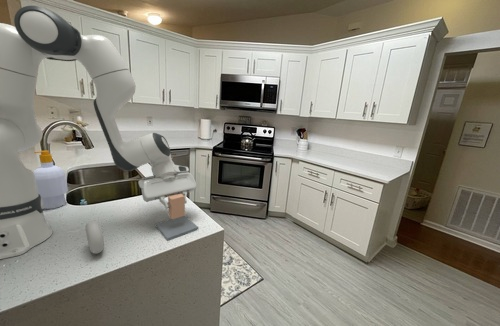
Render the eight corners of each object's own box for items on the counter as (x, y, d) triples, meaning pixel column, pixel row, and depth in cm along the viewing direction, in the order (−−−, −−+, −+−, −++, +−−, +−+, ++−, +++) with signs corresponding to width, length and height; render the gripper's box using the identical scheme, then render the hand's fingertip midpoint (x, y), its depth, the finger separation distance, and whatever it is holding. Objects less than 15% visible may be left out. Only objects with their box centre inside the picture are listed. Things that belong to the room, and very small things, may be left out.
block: (172, 219, 76) (171, 199, 75) (168, 216, 79) (168, 196, 77) (184, 215, 80) (184, 196, 78) (181, 212, 82) (180, 193, 80)
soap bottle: (33, 206, 88) (21, 150, 82) (63, 198, 97) (55, 147, 91) (43, 213, 84) (32, 154, 78) (74, 204, 92) (66, 151, 87)
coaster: (167, 240, 72) (167, 238, 72) (155, 225, 81) (154, 223, 80) (198, 229, 80) (198, 227, 80) (184, 216, 89) (184, 214, 88)
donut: (87, 245, 67) (83, 217, 65) (100, 241, 70) (96, 214, 67) (92, 262, 60) (88, 231, 58) (106, 257, 63) (103, 227, 60)
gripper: (138, 174, 73) (149, 209, 69) (191, 166, 87) (203, 195, 83) (135, 182, 78) (145, 216, 73) (186, 173, 91) (197, 202, 87)
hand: (176, 205), depth 78 cm, fingers closed on block, 5 cm apart
